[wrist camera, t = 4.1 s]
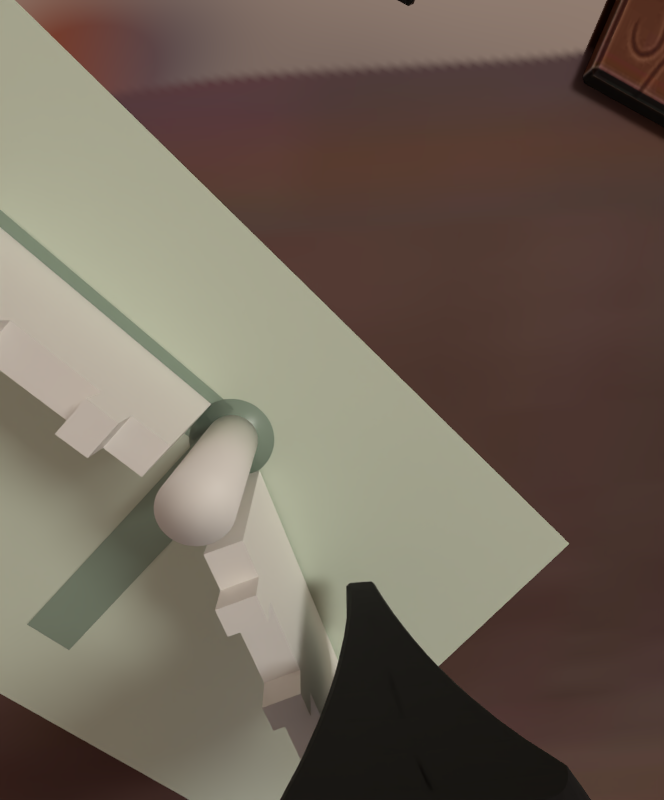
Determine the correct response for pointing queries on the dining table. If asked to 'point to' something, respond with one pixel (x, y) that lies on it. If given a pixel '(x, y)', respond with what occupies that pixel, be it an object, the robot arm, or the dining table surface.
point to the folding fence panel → (273, 614)
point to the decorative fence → (628, 55)
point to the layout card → (229, 395)
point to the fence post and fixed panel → (119, 397)
